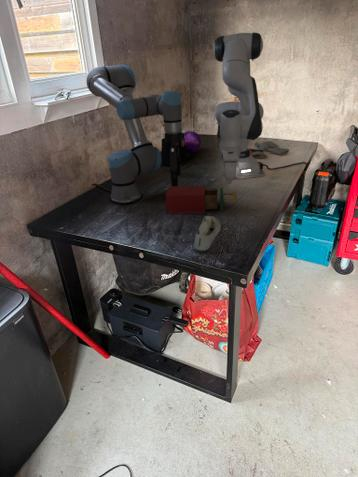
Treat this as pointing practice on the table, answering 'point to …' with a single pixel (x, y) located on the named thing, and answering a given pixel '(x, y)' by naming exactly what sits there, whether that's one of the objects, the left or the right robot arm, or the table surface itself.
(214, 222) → the ballet flat
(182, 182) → the table surface
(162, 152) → the handbag
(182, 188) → the dark red block
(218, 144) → the boot
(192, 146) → the decorative orb
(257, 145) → the pair of gloves
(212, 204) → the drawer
